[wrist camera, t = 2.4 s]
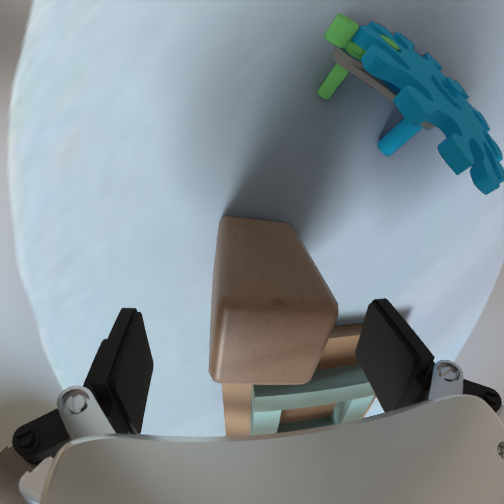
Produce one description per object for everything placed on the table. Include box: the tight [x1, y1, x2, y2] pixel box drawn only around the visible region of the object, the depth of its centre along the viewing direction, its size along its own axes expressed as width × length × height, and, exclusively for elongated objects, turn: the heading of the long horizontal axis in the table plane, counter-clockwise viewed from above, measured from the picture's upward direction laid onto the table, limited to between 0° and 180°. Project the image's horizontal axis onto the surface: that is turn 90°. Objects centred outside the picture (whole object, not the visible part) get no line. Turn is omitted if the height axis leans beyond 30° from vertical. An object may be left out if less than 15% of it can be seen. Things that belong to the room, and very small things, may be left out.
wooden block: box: [209, 216, 338, 385], centre depth 13 cm, size 4×4×8 cm
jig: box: [222, 323, 376, 437], centre depth 21 cm, size 16×14×3 cm
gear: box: [317, 14, 504, 195], centre depth 11 cm, size 11×6×10 cm
